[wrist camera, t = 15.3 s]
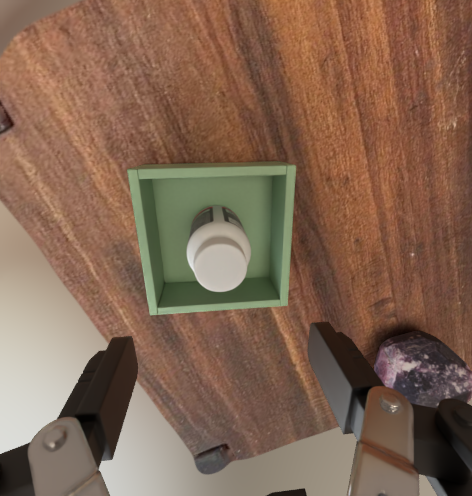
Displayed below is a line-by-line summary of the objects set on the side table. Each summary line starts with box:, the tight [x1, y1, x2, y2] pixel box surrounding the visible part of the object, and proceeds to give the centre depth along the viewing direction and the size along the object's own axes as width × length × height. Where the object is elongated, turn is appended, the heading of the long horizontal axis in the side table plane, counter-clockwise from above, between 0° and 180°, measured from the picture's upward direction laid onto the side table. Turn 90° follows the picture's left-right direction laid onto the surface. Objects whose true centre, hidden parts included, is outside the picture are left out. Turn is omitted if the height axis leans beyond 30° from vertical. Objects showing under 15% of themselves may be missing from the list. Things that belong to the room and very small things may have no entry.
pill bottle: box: [187, 205, 251, 292], centre depth 24 cm, size 5×5×10 cm
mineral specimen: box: [374, 331, 472, 408], centre depth 34 cm, size 10×10×10 cm
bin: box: [127, 161, 296, 315], centre depth 27 cm, size 14×14×6 cm
